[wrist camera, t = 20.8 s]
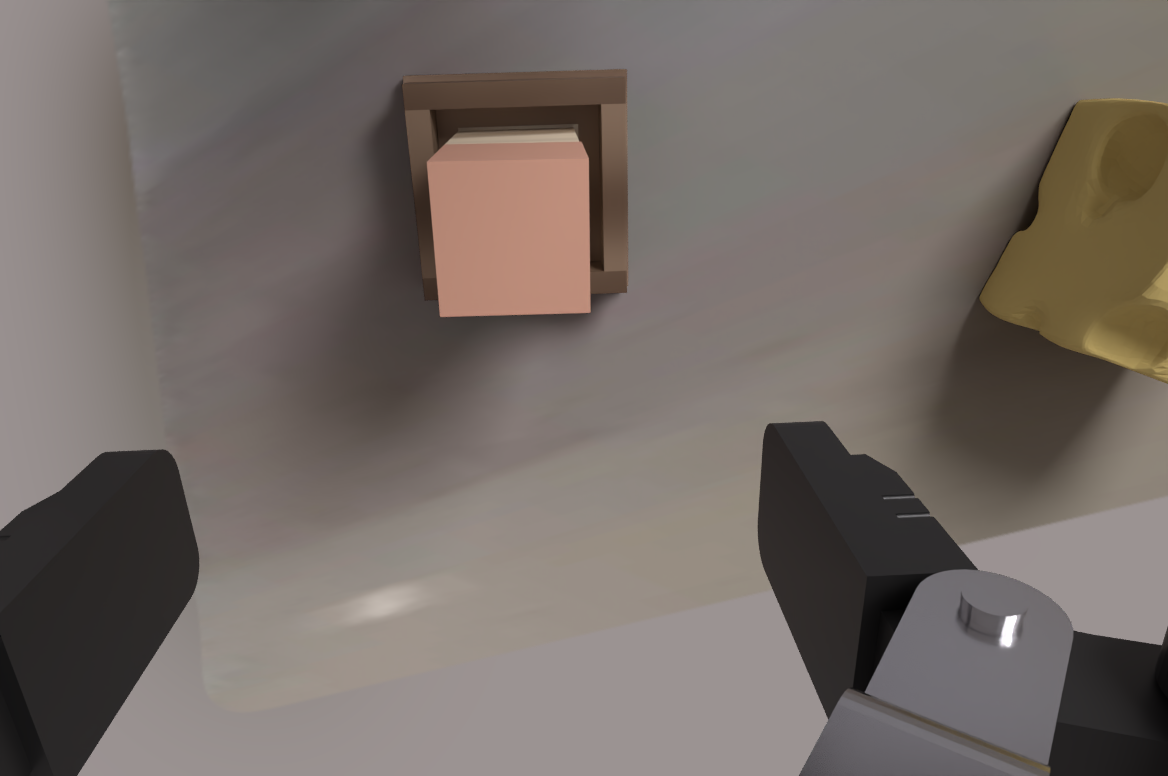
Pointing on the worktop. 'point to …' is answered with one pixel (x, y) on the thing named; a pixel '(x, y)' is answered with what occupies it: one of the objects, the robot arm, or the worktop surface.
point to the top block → (511, 228)
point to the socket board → (530, 104)
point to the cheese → (1097, 241)
